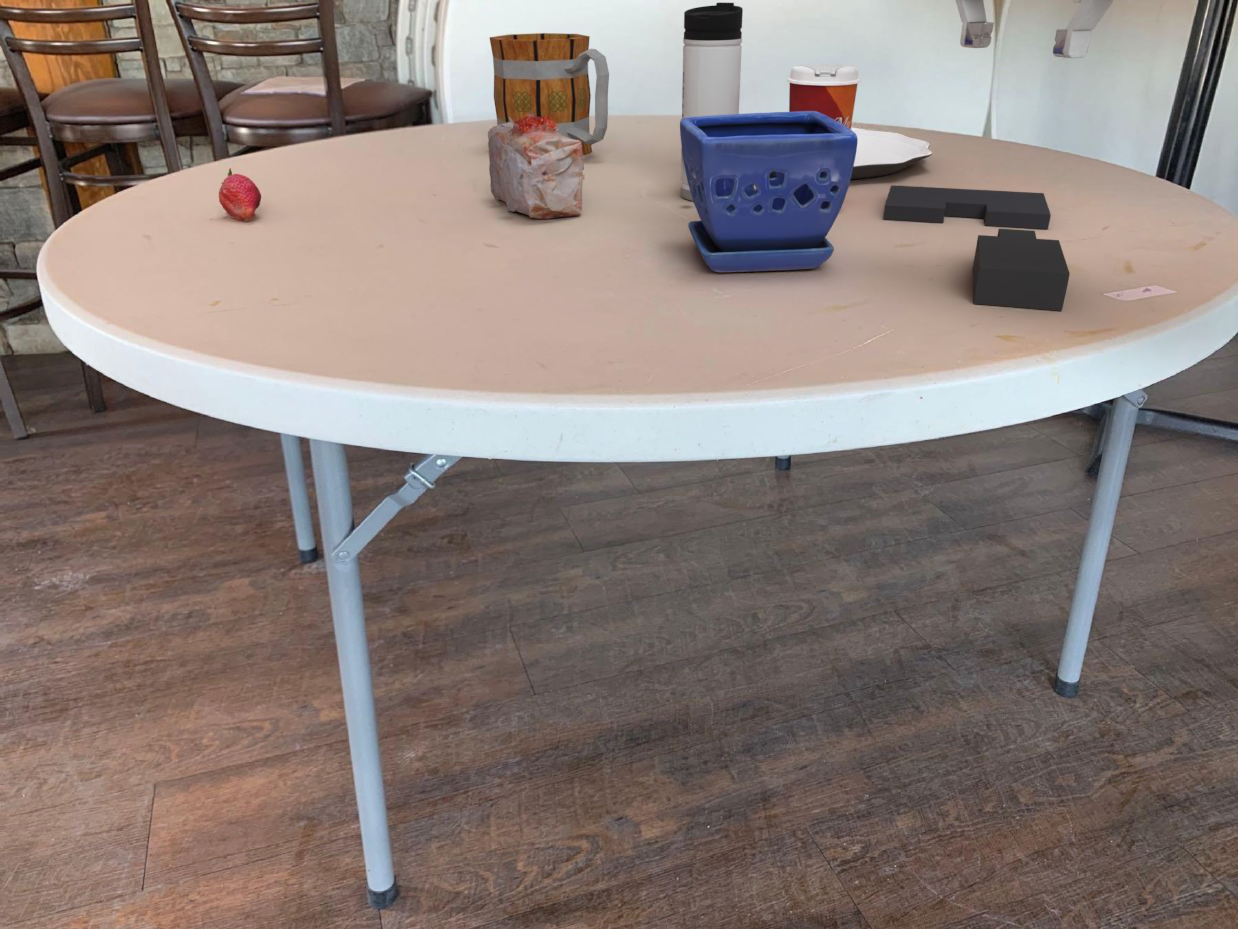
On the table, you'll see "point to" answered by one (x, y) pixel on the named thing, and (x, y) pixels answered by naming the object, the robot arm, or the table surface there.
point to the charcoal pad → (967, 206)
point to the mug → (550, 82)
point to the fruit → (239, 196)
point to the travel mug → (710, 65)
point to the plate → (884, 153)
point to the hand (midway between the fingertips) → (1019, 51)
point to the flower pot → (766, 187)
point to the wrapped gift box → (536, 168)
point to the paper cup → (824, 90)
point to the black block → (1019, 271)
